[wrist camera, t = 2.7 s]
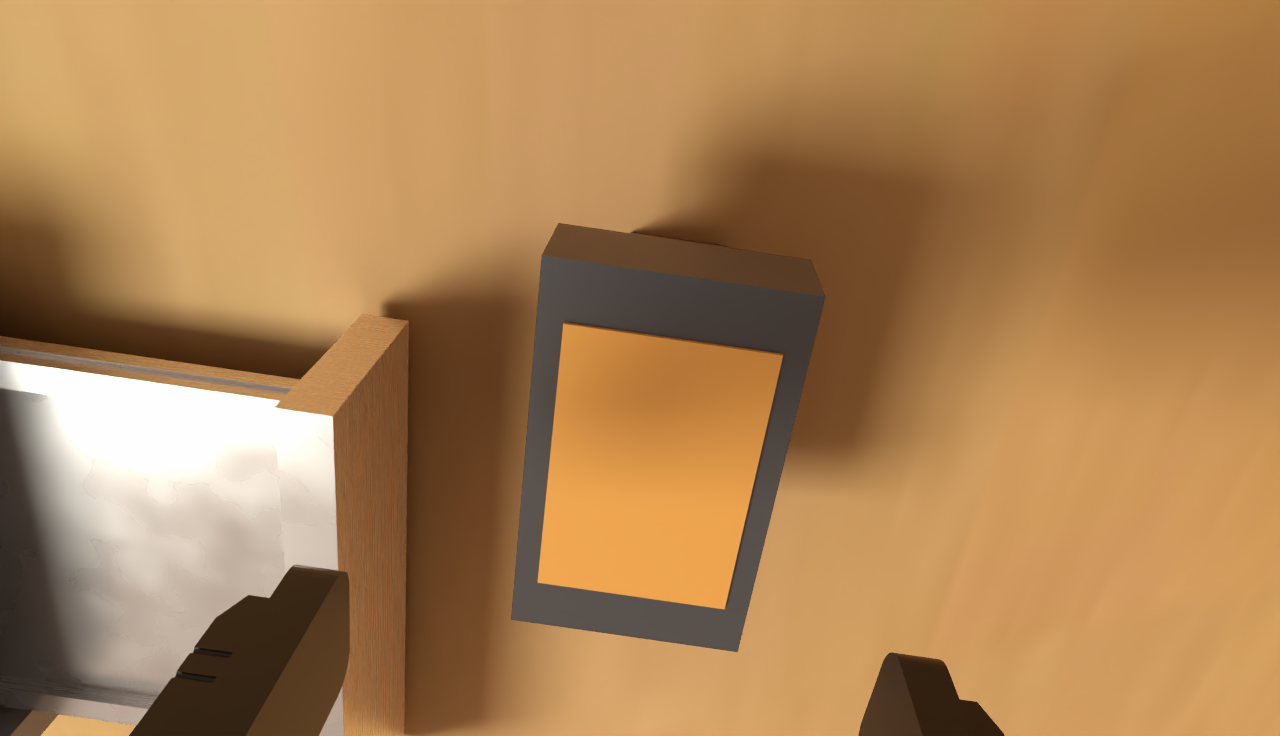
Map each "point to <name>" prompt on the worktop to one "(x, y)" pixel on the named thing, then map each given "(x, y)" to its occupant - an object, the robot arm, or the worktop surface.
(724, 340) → the block
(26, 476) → the tray
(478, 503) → the worktop surface
